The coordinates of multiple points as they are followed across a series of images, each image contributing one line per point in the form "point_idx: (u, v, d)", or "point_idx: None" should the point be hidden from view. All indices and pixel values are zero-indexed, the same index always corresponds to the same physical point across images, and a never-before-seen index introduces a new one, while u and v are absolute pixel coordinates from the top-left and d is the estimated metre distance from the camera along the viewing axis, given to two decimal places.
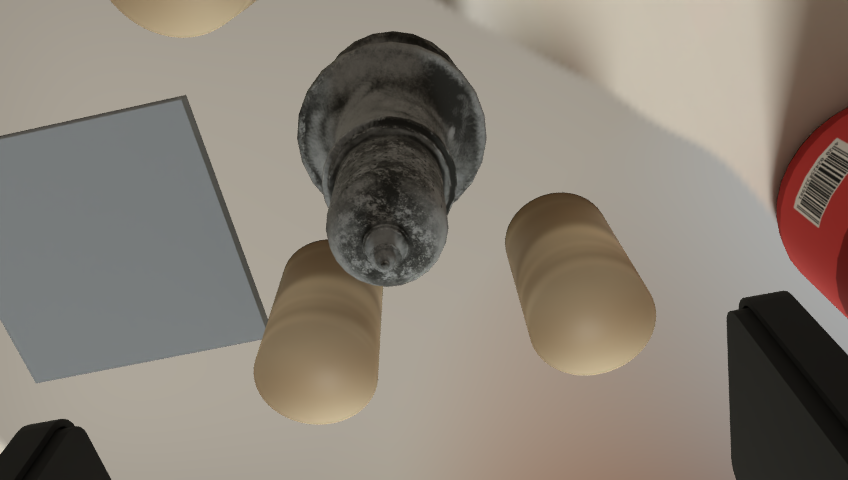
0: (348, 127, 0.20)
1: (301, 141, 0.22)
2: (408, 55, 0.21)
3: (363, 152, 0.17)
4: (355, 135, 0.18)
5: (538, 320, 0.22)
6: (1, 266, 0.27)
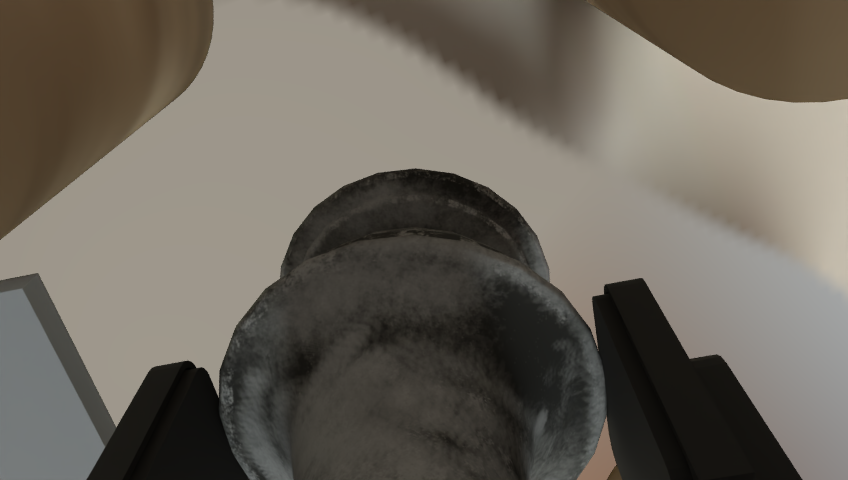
0: (314, 446, 0.09)
1: (226, 419, 0.11)
2: (450, 266, 0.10)
3: None
4: None
5: None
6: None
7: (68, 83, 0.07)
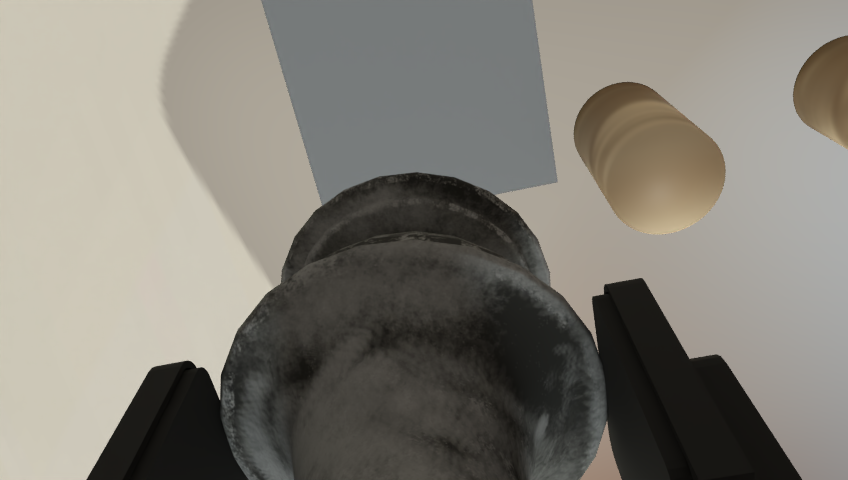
0: (316, 450, 0.09)
1: (228, 423, 0.11)
2: (452, 270, 0.10)
3: None
4: None
5: None
6: (320, 103, 0.29)
7: None
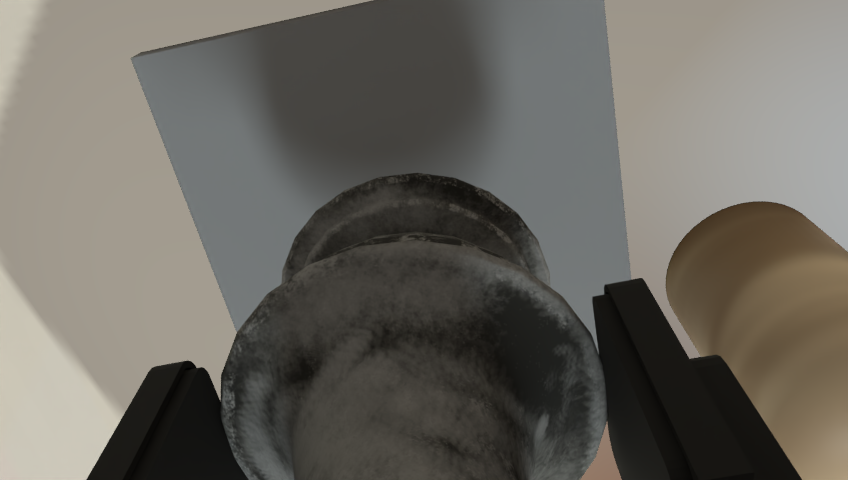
0: (316, 451, 0.09)
1: (228, 423, 0.11)
2: (452, 271, 0.10)
3: None
4: None
5: None
6: (249, 240, 0.17)
7: None
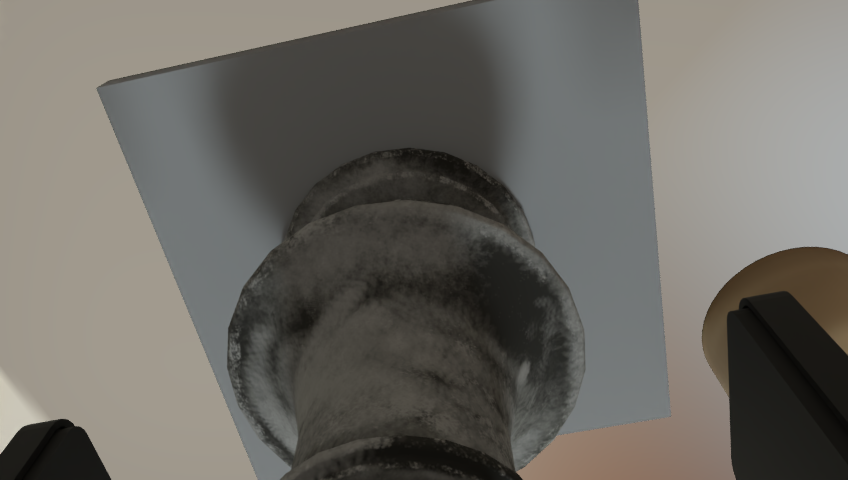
0: (315, 389, 0.10)
1: (234, 374, 0.12)
2: (440, 227, 0.11)
3: None
4: None
5: None
6: (233, 289, 0.15)
7: None
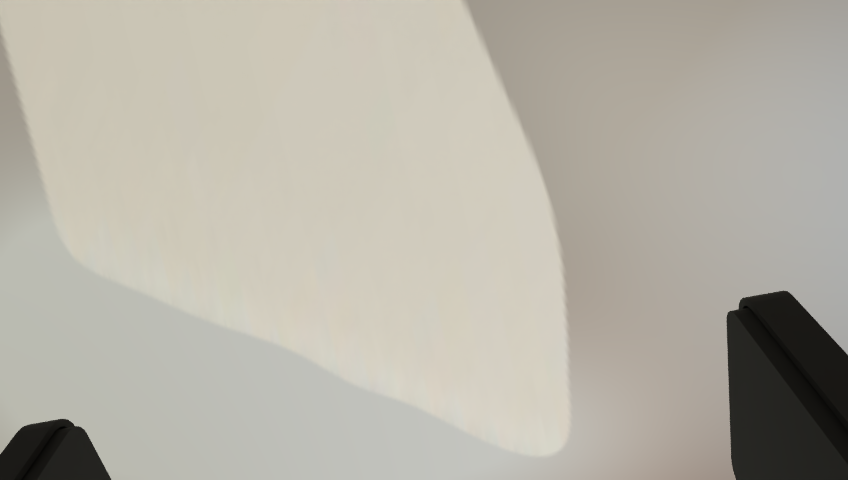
0: None
1: None
2: None
3: None
4: None
5: None
6: None
7: None
